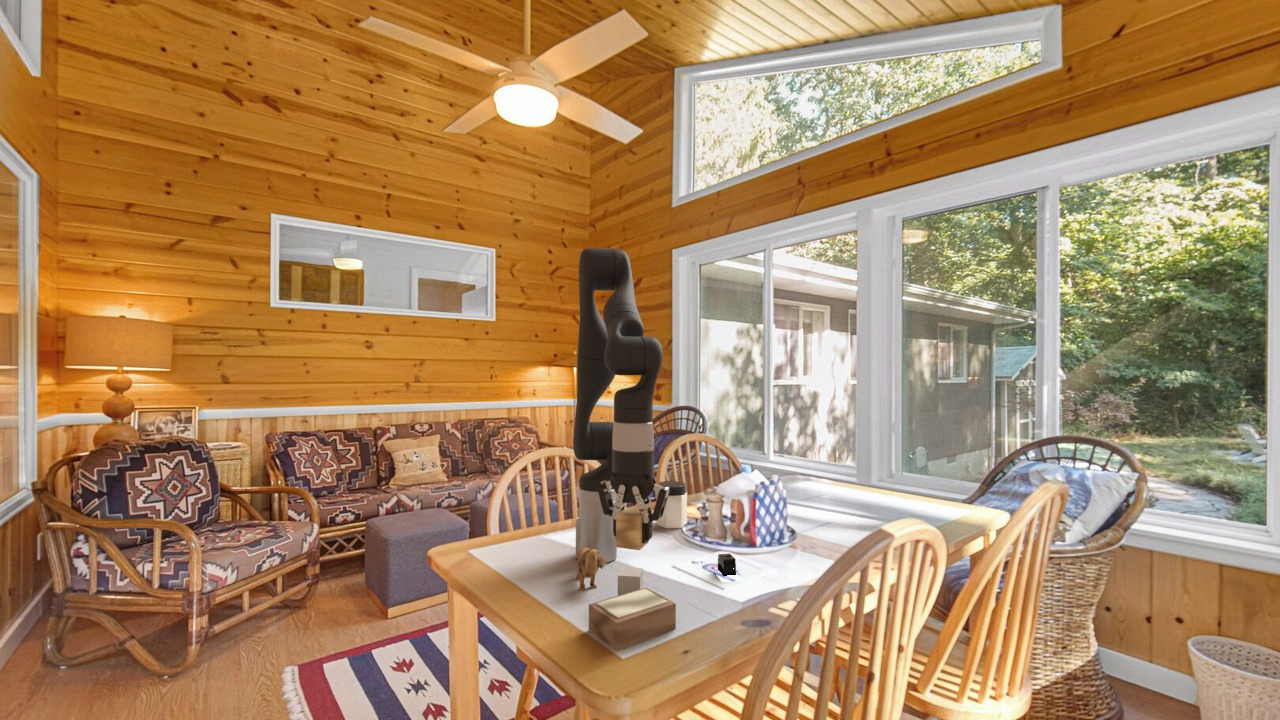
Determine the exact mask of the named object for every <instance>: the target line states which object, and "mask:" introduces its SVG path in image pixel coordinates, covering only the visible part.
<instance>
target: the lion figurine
mask: <svg viewBox="0 0 1280 720" xmlns="http://www.w3.org/2000/svg"><path fill="white" fill-rule="evenodd" d="M605 562H606V560H605V559H603V558H602V557H601V555H599V554H598V550H596V549H591V550H590V549H589V548H586V547H584V548H582V549H580V551H579V553H578V559H577V561H576V563H577V572H576V576H575V577H574V579H575V580H579V588H578V589H579V591H581V592H583V591H586V590H585V589H586V585H585V578H587V579H590V582H589V586H590V588H591V589H596V588H597V587H598V586H597V585H596V584H595V580H596V574H597V573H598V572H599V569H601V570H602V569H604V566H605V564H606V563H605Z"/></svg>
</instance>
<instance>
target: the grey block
mask: <svg viewBox="0 0 1280 720" xmlns="http://www.w3.org/2000/svg"><path fill="white" fill-rule="evenodd" d="M643 571H644V570H643V568H641V567H623V566H622V567H620V569H619V571H618V574H617V596H619V595H622V594H625V593H629V592H632V591H635V590H639V589H642V588H644V587H643V582H644V581H643V578H644V573H643Z"/></svg>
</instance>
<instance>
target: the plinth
mask: <svg viewBox="0 0 1280 720" xmlns="http://www.w3.org/2000/svg"><path fill="white" fill-rule="evenodd" d="M676 603H677V602H674V601H672V600H670V599H669V598H667V597H665V596H663V595H661V594H658V593H657V592H655V591H653V590H651V588H648V587H647V586H645V587H643V588H642V589H639V590H635V591H632V592H629V593H625V594H622V595H619V596H618V595H615V596H613V597H612V596H611V597H609V598H605V599H602V600H599V601H595V602H592V603H588V631H589V632H591V633H592V634H593V635H595V636H596V637H598V639H600V640H602V642H604V643H605V644H607V645H608V646H610V647H611V648H613V649H614V650H616V651H620V650H622V649H623V650H624V649H625V648H628V647H630V646H633V645H636V644H638V643H641V642H644V641H647V640H650V639H653V638H655V637H658V636H660V635H661V636H662V635H663V634H666V633H669V632H671V631H674V630H676V629H677V628H676V626H677V625H676V623H677V620H676V619H677V618H676V616H677V613H676V611H677V608H676V607H677V605H676Z"/></svg>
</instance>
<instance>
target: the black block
mask: <svg viewBox="0 0 1280 720" xmlns="http://www.w3.org/2000/svg"><path fill="white" fill-rule="evenodd" d="M717 557H718V558H717V567H718V570H719V571H720V572H721V573H722V575H723V576H727V575H736V572H737V564H736V558H735V557H734V556H733V555H732V554H731V553H721V554H720V553H718V556H717ZM733 568H734V569H733Z"/></svg>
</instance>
